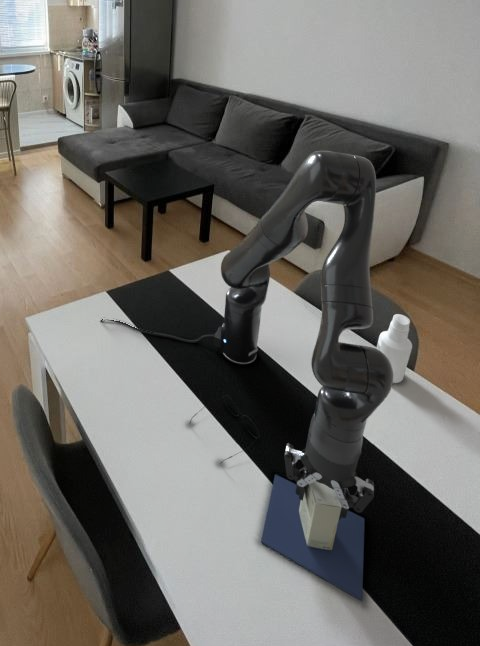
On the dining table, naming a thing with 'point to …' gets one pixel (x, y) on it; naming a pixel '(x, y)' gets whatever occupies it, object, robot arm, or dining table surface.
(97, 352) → the dining table surface
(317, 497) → the cosmetic box
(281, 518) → the cloth
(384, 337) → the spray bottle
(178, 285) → the dining table surface
